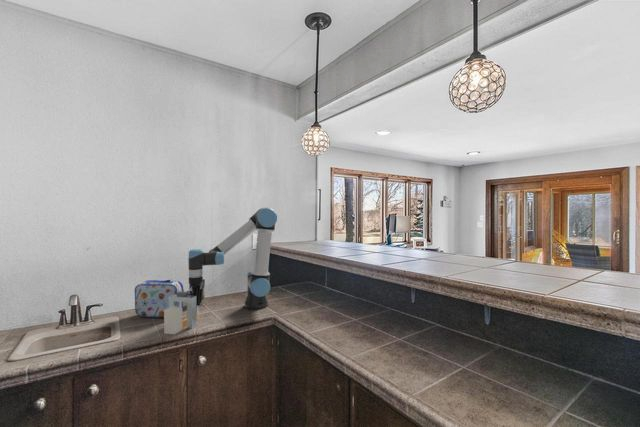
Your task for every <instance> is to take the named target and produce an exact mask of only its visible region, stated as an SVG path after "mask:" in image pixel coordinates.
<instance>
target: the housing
mask: <svg viewBox="0 0 640 427" xmlns="http://www.w3.org/2000/svg"><path fill="white" fill-rule="evenodd" d="M179 302H183V303H186V316H187V326H186V329H188V330H192V329H194V328H196V327H197V321H196V296H192V295H188V292H187V291H184V292H182V291H180V292H177V294H173V295H171V296H169V308H170V307H172V306H174V307H179Z"/></svg>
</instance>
